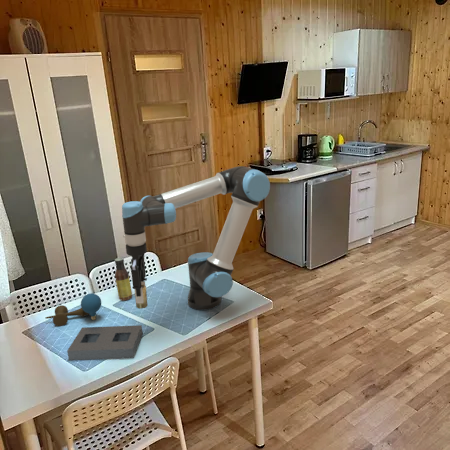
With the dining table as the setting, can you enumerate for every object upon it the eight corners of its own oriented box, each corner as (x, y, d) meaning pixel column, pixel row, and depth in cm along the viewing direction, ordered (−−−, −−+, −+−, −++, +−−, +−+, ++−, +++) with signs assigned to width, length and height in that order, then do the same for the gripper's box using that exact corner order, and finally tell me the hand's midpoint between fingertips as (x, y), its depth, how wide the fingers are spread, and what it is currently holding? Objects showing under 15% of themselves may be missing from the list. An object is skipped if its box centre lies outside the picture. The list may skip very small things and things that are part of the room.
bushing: (148, 303, 169) (147, 284, 167) (146, 308, 165) (144, 289, 163) (137, 303, 169) (135, 284, 167) (135, 308, 165) (133, 289, 163)
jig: (142, 334, 171) (141, 325, 170) (133, 358, 156) (132, 348, 155) (83, 336, 172) (82, 327, 171) (68, 360, 157) (67, 350, 156)
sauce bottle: (135, 296, 203) (129, 257, 197) (125, 302, 198) (120, 262, 192) (125, 294, 207) (119, 255, 201) (115, 299, 202) (109, 260, 196)
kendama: (94, 321, 185) (45, 329, 179) (94, 311, 194) (47, 319, 188) (93, 308, 183) (42, 316, 177) (92, 299, 192) (44, 306, 186)
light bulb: (93, 326, 179) (88, 300, 175) (79, 321, 183) (75, 296, 180) (108, 317, 186) (104, 292, 182) (94, 313, 190) (90, 288, 186)
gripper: (131, 235, 168) (136, 290, 175) (119, 251, 151) (126, 310, 158) (150, 235, 168) (155, 289, 175) (140, 251, 151) (146, 310, 158)
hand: (141, 299), depth 166 cm, fingers closed on bushing, 4 cm apart
